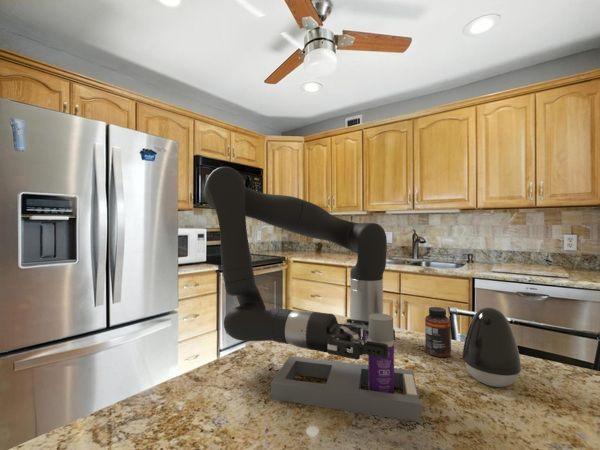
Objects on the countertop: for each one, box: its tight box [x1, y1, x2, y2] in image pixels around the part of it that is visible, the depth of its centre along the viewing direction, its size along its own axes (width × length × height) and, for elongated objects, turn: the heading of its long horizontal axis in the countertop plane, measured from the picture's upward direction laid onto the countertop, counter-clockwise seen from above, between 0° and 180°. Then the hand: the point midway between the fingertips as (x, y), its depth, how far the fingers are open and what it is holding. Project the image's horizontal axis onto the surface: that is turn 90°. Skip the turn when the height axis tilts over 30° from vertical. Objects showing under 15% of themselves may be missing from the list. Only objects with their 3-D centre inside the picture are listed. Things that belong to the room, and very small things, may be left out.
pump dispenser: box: [462, 306, 522, 388], centre depth 62 cm, size 10×10×15 cm
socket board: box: [270, 355, 421, 423], centre depth 58 cm, size 12×26×3 cm, turn 75°
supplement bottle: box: [424, 306, 452, 358], centre depth 76 cm, size 6×6×11 cm
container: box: [367, 313, 395, 394], centre depth 57 cm, size 5×5×15 cm
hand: (391, 342), depth 56 cm, fingers open, 8 cm apart
